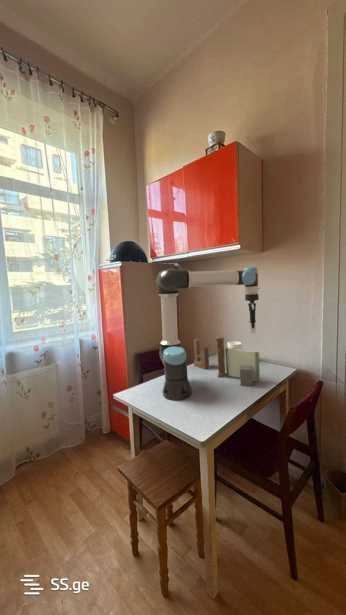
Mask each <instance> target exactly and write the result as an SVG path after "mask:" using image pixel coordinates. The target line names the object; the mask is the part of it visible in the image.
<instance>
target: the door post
mask: <svg viewBox="0 0 346 615" xmlns="http://www.w3.org/2000/svg"><path fill="white" fill-rule="evenodd" d="M215 338H216V342H217V343H216V344H217V345H216V346H217V361H218V364H217V365H218V366H217V367H218V372H217V378H222V379H224V378H226V379H227V376H228V375H227V372H226V356H225V336H216V337H215Z"/></svg>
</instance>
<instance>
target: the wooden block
mask: <svg viewBox="0 0 346 615" xmlns="http://www.w3.org/2000/svg"><path fill="white" fill-rule="evenodd" d="M193 343H194V344H193V346H194V360H193V365H194V366H195V367H198V368H201V369H204V370H208V369H210V360H209V359H210V358H209V347H203V349H202V350H201V345H200V339H198V338H197V339H194V340H193Z"/></svg>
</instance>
